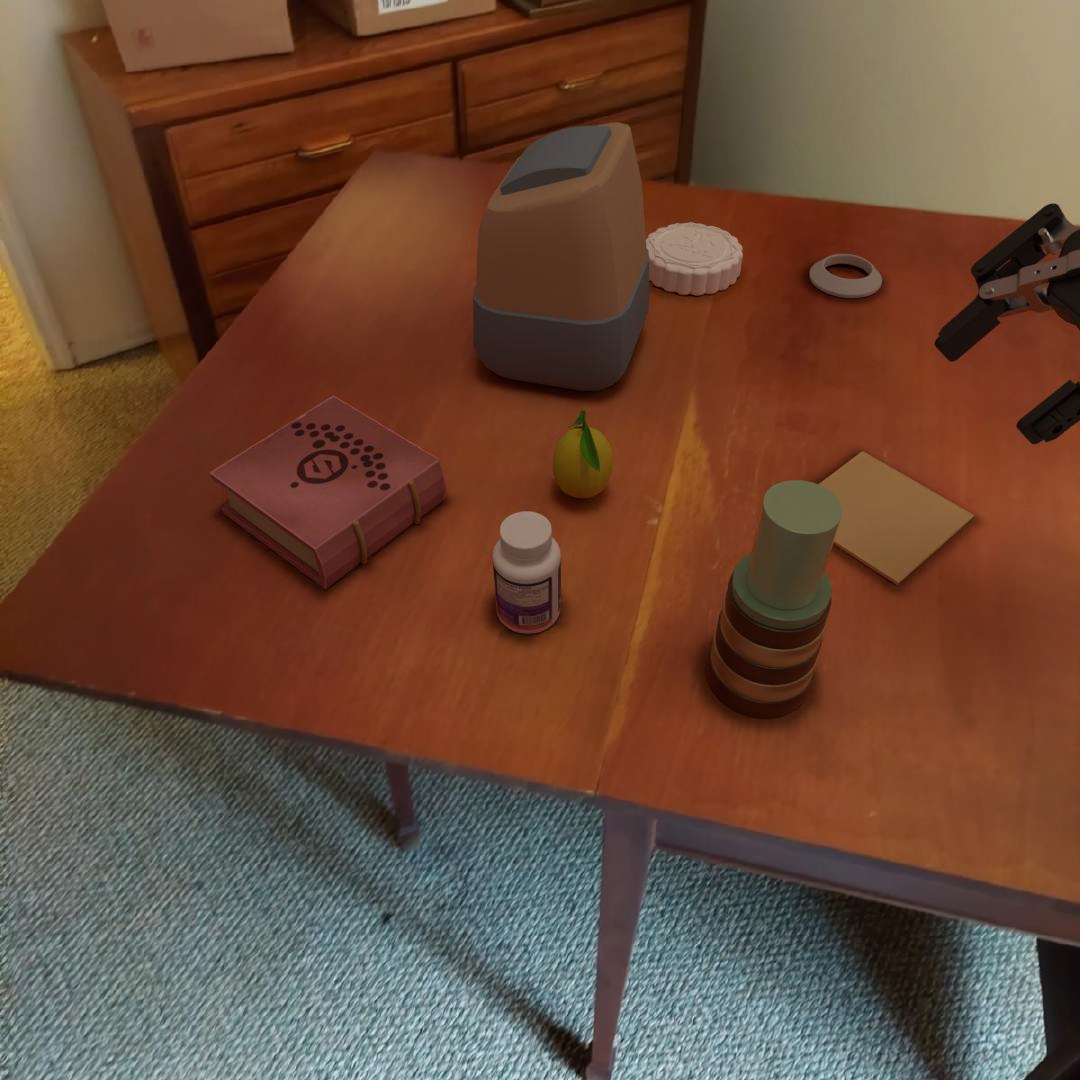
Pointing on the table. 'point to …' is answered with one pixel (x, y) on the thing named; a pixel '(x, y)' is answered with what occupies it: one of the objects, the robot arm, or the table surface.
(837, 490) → the mat
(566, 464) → the lemon
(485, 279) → the small trash can
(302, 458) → the book
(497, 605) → the pill bottle
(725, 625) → the stack
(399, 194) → the table surface
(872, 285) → the ring
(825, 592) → the ring spool
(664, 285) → the mooncake
